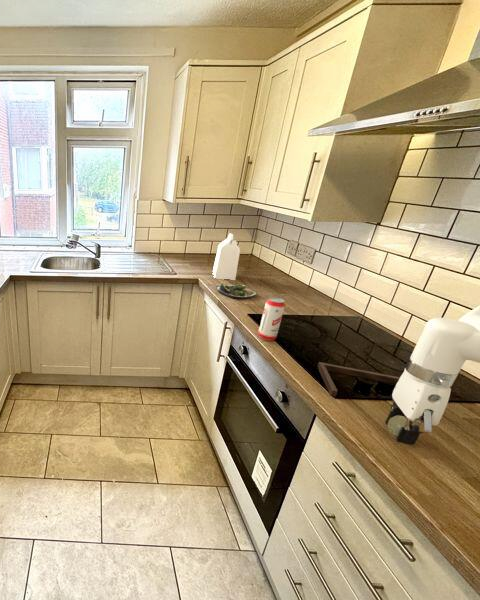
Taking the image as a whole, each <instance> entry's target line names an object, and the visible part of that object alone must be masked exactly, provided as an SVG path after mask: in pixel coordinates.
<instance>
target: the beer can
mask: <svg viewBox="0 0 480 600" xmlns="http://www.w3.org/2000/svg"><path fill="white" fill-rule="evenodd" d="M285 307H286V304H285V300H284V299H282V298H280V297H274V296H272V297H271V296H270V297H268V299H267V300H266V302H265V305H264V308H263V313H262V316H261V320H260V325H259V328H258V332H257V335H258V337H259V338H260V339H262V341H263V340H264V341H268V342H272V341H274V340H276V339H277V337H278V333H279V330H280V326H281V322H282V320H283V319H282V318H283V316H284V312H285Z"/></svg>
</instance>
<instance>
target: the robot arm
mask: <svg viewBox="0 0 480 600" xmlns="http://www.w3.org/2000/svg"><path fill="white" fill-rule="evenodd" d="M466 361H471V362H474V363H478V364H480V305H478V306H476V307H475V308H473V309H471V310H470V311H469V312H467V313H464V314H463V315H462V316H461V317H460V318H459V319H454V318H447V317H433V318H431V319H429V320H428V321H427V322H426V324H425V325H424V328H423V329H422V331H421V333H420V335H419V338H418V340H417V343H416V344H415V346H414V349H413V350H412V353H411V354H410V357H409V359H408V361H407V363H406V365H405V367H404V371H403V372H402V374H401V375H400V376H399V377H400V379H399V380H398V382H397V384H395V386H394V387H393V388H394V389H393V390H392V394H391V396H392V397H391V398H392V404H391V406H390V410H389V412H388V415H387V417H386V419H385V421H384V423H385V425H387V426H388V422H389V419H390V418H392V417H394V416H405V417H407V419H406V423H405V427H401V429H400V431H399V433H398V435H397V436H396V437H395V440H396V441H397V442H398V443H403V444H407V445H411V446H414V445H415V444H416V442H417V440H418V438H419V437H420V435H422V434H432V433H433V432H432V431H433V427H436V426H438V425H439V423H440V421H441V420H442V418H443V415H444V413H445V411H446V409H447V406H448V403H449V401H450V396H451V392H452V389H451V387H452V386H453V384H454V382H455V380H456V379H457V377H458V375H459V373H460V372H461V369H462V368H463V367H464V364H465V362H466ZM412 422H413V423H417V425H416V424H415V425H412Z"/></svg>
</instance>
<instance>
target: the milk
mask: <svg viewBox="0 0 480 600" xmlns="http://www.w3.org/2000/svg"><path fill="white" fill-rule="evenodd" d="M240 254H241V248H240V246H239V245H238V241H237V240H236V239H234V234H233V233H228V236H227V238H226V239H224V240H223V241H221V242H220V243H219V244H218V245H217V249H216V255H215V260H214V264H213V269H212V272H213V273H212V276H213V275H214V276H213V279H215V278H216V279H215V280H224V279H230V280H229V281H236V278H237V273H238V266H239V260H240Z"/></svg>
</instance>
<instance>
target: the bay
mask: <svg viewBox="0 0 480 600" xmlns="http://www.w3.org/2000/svg"><path fill="white" fill-rule="evenodd" d="M317 367H318V368H317ZM317 367H316V368H317V370H318V369H319V370H318V372H319V374H320V376H321V378H322V381H323V382H324V385H325V387H326V389H327V391H328V393H329V395H330V397H334V398H336V397H337V394H338V392H339V391H338V388H337V387H336V385H335V383H334V381H333V379H332V377H331V374H330V373H329V372H332V373H337V374H343V375H347V376H353V377H357V378H363V379H367V380H373V381H378V382H383V383H388V384H393V385H396V384H397V382H398V380H399V379H400V377H401V376H396V375H390V374H384V373H379V372H374V371H368V370H363V369H357V368H352V367H347V366H342V365H337V364H332V363H327V362H322V361H319V362H318V364H317Z"/></svg>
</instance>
